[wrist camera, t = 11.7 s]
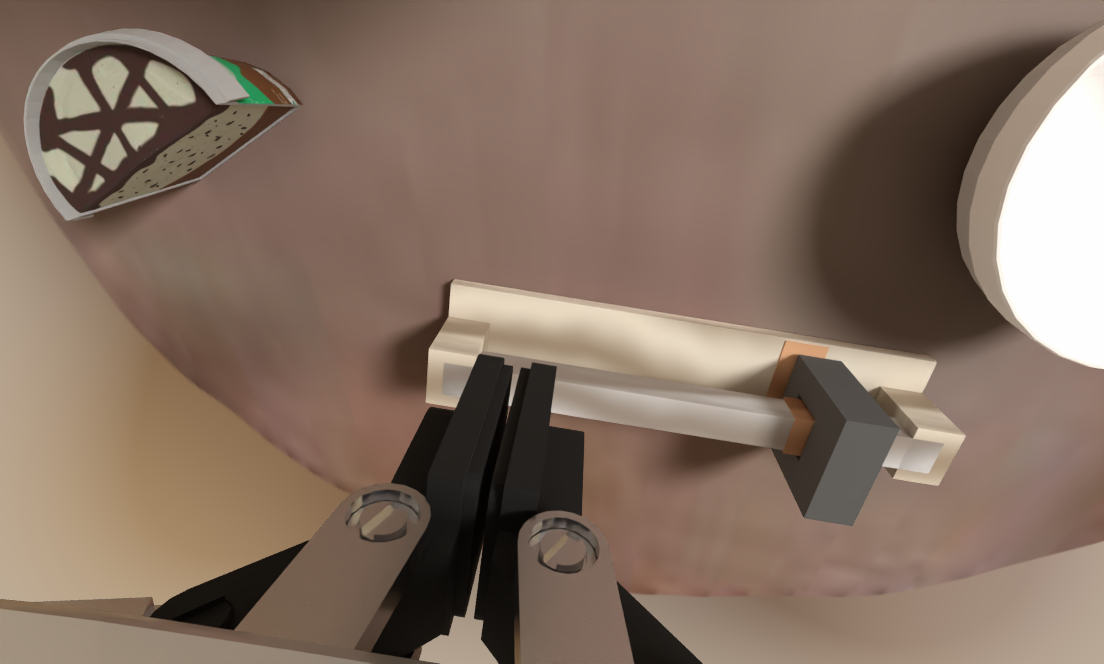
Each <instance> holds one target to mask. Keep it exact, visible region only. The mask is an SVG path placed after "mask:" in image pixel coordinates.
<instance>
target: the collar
mask: <svg viewBox="0 0 1104 664" xmlns="http://www.w3.org/2000/svg"><path fill="white" fill-rule="evenodd" d="M783 397H790V398H796V399H802V400H803V401H804V403H805V405H806V406H807V408H808V409H809V411H810V412H811V414H812V416H813V417H814V419H815V423H814V425H813V428H812V430H811V432H810V435H809V437H808V440H807V442H806V445H805V447H804V449H803V452H802V454H801V456H796V455H790V454H784V453H783V452H782V450H779V449H773V448H771V449H772V451H773V453H774V455H775V458H776V460H777V462H778V464H779V466H780V468H781V470H782V472H783V475H784V477H785V479H786V481H787V483H788V485H789V487H790V489H791V492H792V494H793V496H794V498H795V500H796V502H797V504H798V506H799V509H800V511H801V513H802V515H803V517H804V518H806V519H812V520H819V521H825V522H831V523H837V524H843V525H849V526H853V524H854V522H855V520H856V518H857V516H858V514H859V512H860V510H861V508H862V506H863V504H864V501H865V499H866V497H867V495H868V493H869V491H870V489H871V487H872V485H873V483H874V481H875V479H876V477H877V475H878V473H879V471H880V469H881V467H882V465H883V463H884V461H885V459H886V457H887V455H888V453H889V451H890V449H891V446H892V444H893V442H894V440H895V438H896V436H897V434H898V432H899V430H900V429H899V427H898V426H897V425H896V424H895V423H894V422H893V420H892V419H891V418H890V417H889V416H888V415H887V413H886V412H885V411H884V410H883V409H882V408H881V406H880V405H879V404H878V403H877V402H876V401H875V399H874V398H873V397H872V396H871V395H870V394H869V393H868V391H867V390H866V389H865V388H864V387H863V386H862V384H861V383H860V382H859V381H858V380H857V379H856V377H855V376H854V375H853V374H852V373H851V372H850V370H849V369H848V368H847V367H846V366H845V365H844V363H843V362H842V361H837V360H831V359H825V358H818V357H812V356H806V355H800V354H799V355H798V357H797V360H796V363H795V365H794V368H793V371H792V373H791V376H790V379H789V381H788V384H787V387H786V390H785V392H784V395H783ZM782 399H783V398H782Z"/></svg>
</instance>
